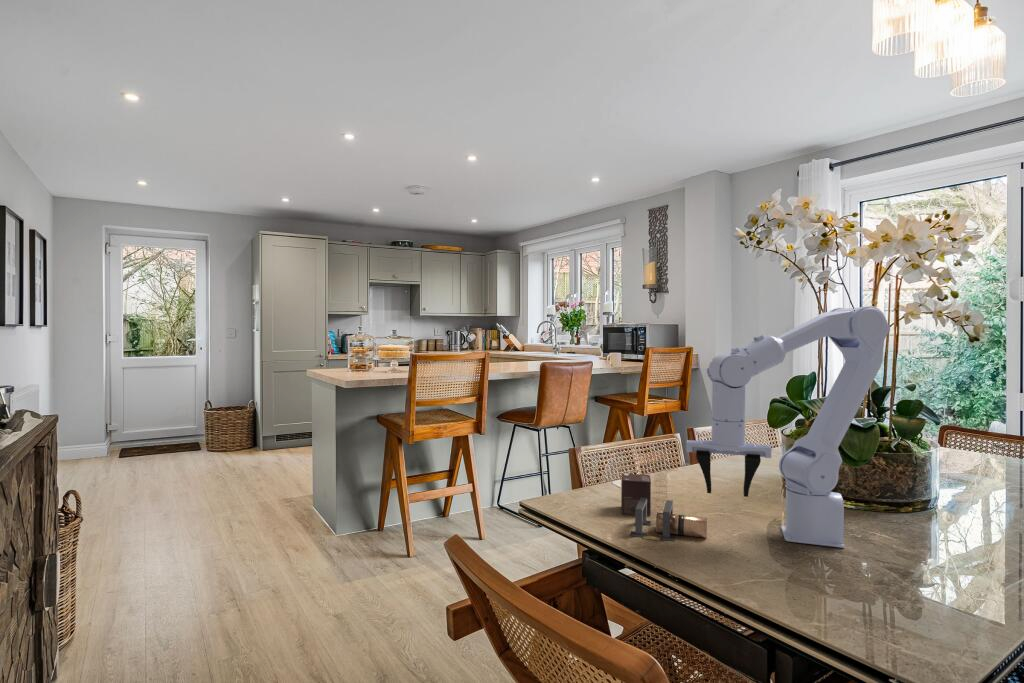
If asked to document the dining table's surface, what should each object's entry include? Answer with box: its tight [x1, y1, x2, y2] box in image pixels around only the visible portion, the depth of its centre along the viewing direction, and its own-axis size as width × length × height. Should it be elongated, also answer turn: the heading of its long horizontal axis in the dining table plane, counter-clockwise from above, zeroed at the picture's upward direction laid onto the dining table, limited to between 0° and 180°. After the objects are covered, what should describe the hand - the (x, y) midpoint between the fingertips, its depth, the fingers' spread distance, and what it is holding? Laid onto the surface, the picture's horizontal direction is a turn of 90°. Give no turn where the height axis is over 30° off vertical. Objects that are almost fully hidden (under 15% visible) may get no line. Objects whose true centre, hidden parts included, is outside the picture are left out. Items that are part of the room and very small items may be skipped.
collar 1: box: [629, 498, 653, 538], centre depth 113 cm, size 3×9×5 cm, turn 161°
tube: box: [655, 512, 708, 539], centre depth 110 cm, size 9×4×4 cm, turn 70°
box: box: [620, 473, 652, 517], centre depth 124 cm, size 6×6×7 cm
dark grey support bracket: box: [656, 499, 676, 542], centre depth 111 cm, size 3×9×5 cm, turn 160°
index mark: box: [642, 535, 661, 542], centre depth 107 cm, size 3×1×1 cm, turn 71°
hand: (727, 493), depth 107 cm, fingers open, 6 cm apart
